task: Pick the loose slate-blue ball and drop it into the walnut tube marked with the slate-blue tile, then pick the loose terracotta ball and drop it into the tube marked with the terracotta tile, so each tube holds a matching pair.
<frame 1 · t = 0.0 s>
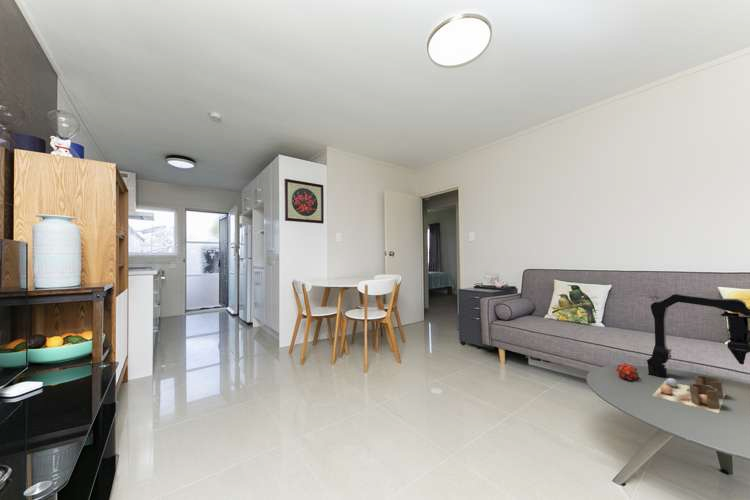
hand: (742, 361, 125), 15 cm above the table, fingers open, 9 cm apart
slate-blue ball in tube: (709, 394, 125), point 1 cm above the table, touching tube rack
dragon fruit: (628, 380, 144), on the table
terracotta ball in tube: (705, 404, 117), point 1 cm above the table, touching tube rack
tube rack: (687, 395, 125), on the table
terracotta ball: (666, 393, 127), point 1 cm above the table, touching tube rack
slate-blue ball: (672, 386, 133), point 1 cm above the table, touching tube rack
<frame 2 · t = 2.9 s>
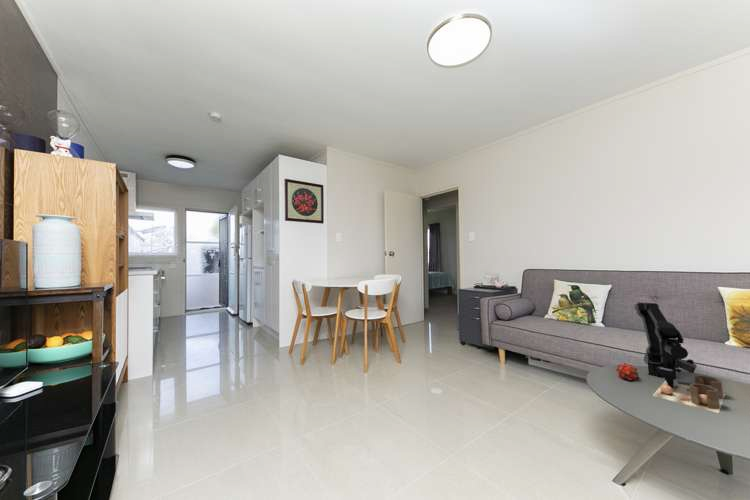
hand: (672, 385, 133), 1 cm above the table, fingers closed on slate-blue ball, 4 cm apart
slate-blue ball: (672, 386, 133), point 1 cm above the table, touching gripper, tube rack
everything else where it was.
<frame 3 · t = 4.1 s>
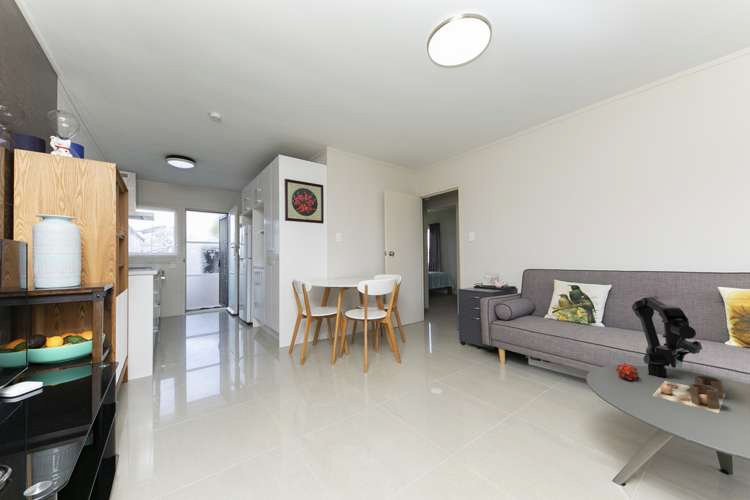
hand: (676, 366, 132), 11 cm above the table, fingers closed on slate-blue ball, 4 cm apart
slate-blue ball: (676, 368, 132), point 10 cm above the table, touching gripper
everything else where it was.
when the fingers open (9 cm above the table, at t = 5.2 s): slate-blue ball drops 2 cm and tips over, resting on slate-blue ball in tube, tube rack.
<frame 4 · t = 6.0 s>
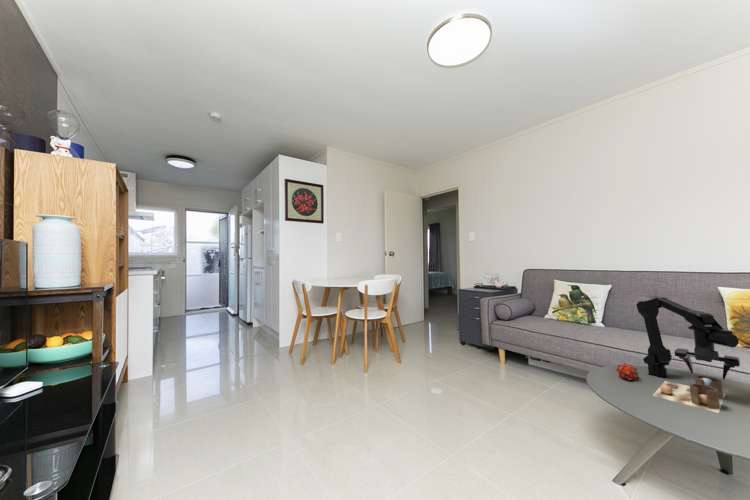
hand: (707, 376, 125), 9 cm above the table, fingers open, 9 cm apart
slate-blue ball in tube: (709, 394, 125), point 1 cm above the table, tilted 29°, touching slate-blue ball, tube rack
slate-blue ball: (711, 383, 124), point 6 cm above the table, tilted 87°, touching slate-blue ball in tube, tube rack
everything else where it was.
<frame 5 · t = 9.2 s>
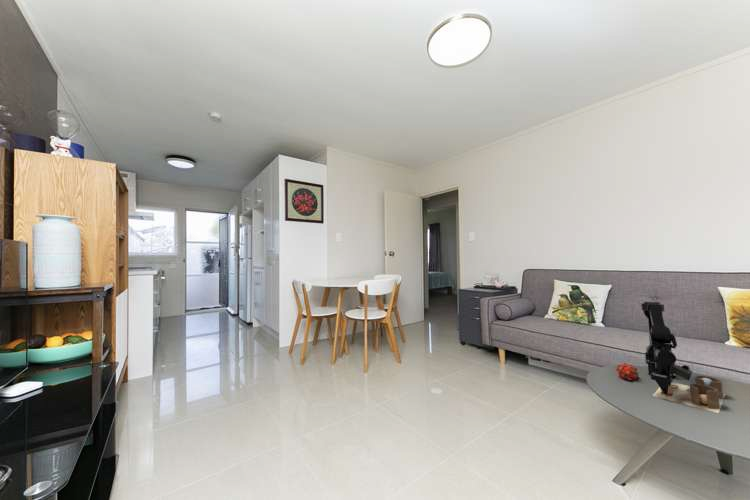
hand: (666, 392, 127), 1 cm above the table, fingers closed on terracotta ball, 4 cm apart
terracotta ball: (666, 393, 127), point 1 cm above the table, touching gripper, tube rack
everything else where it was.
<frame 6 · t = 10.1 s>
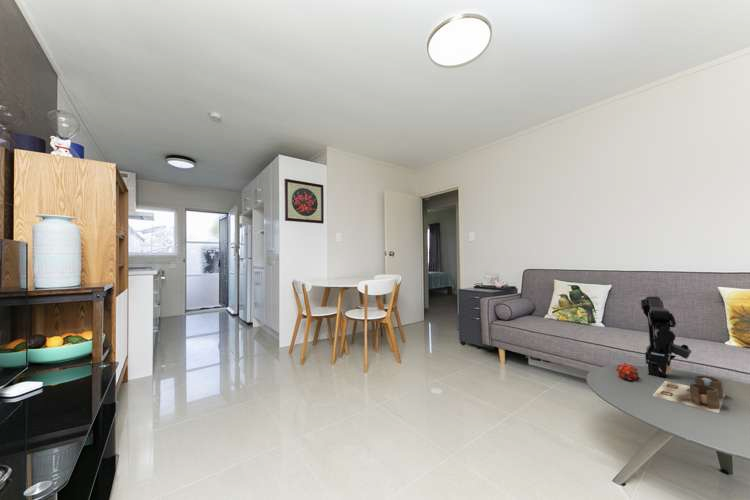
hand: (665, 372, 127), 10 cm above the table, fingers closed on terracotta ball, 4 cm apart
terracotta ball: (665, 373, 127), point 10 cm above the table, touching gripper
everything else where it was.
when the fingers open (9 cm above the table, at t = 11.4 s): terracotta ball drops 2 cm and tips over, resting on terracotta ball in tube, tube rack.
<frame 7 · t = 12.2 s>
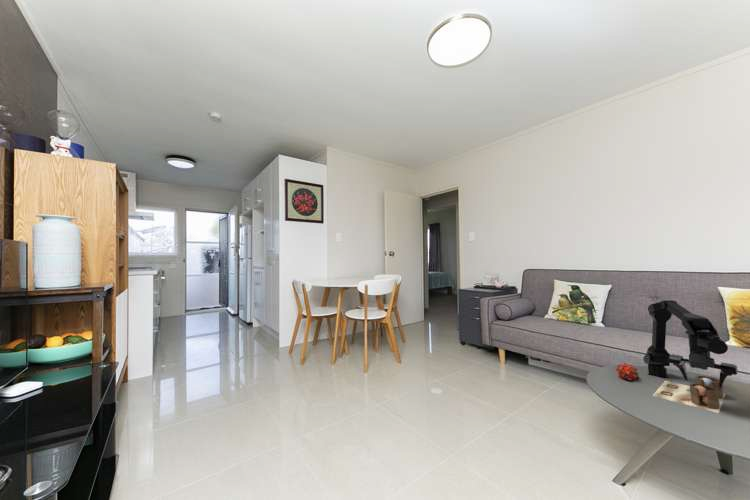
hand: (703, 384, 117), 9 cm above the table, fingers open, 9 cm apart
terracotta ball in tube: (705, 403, 117), point 1 cm above the table, tilted 29°, touching terracotta ball, tube rack
terracotta ball: (707, 392, 116), point 6 cm above the table, tilted 87°, touching terracotta ball in tube, tube rack
everything else where it was.
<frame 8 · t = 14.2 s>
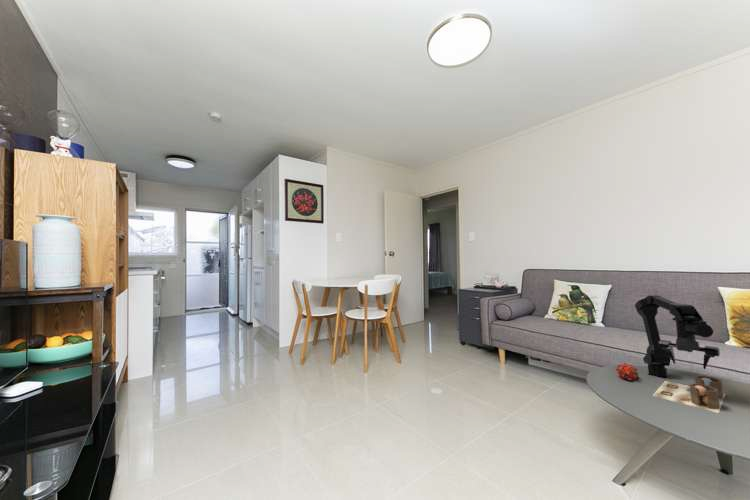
hand: (689, 366, 128), 13 cm above the table, fingers open, 9 cm apart
nothing on the table moved.
at the end: slate-blue ball 1.0 cm from the target spot on the tube rack, point 5.9 cm above the tube rack's base; terracotta ball 1.0 cm from the target spot on the tube rack, point 5.9 cm above the tube rack's base; the gripper is holding nothing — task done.
